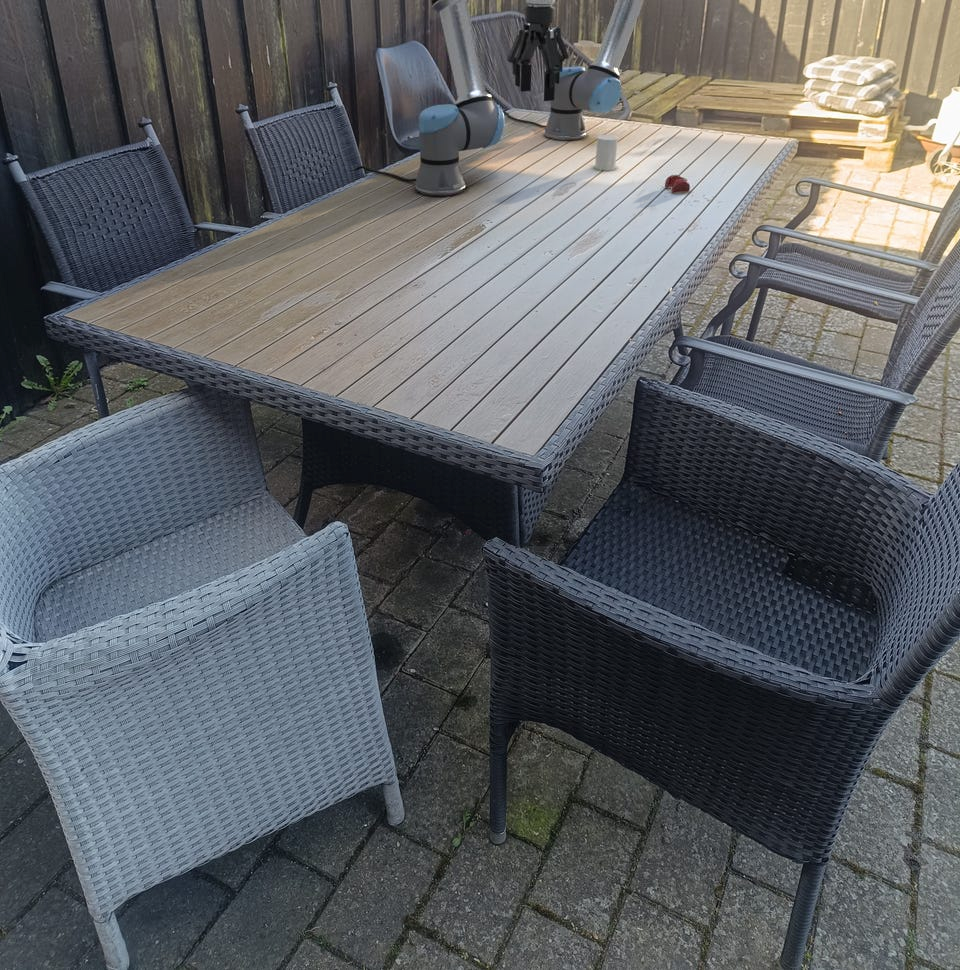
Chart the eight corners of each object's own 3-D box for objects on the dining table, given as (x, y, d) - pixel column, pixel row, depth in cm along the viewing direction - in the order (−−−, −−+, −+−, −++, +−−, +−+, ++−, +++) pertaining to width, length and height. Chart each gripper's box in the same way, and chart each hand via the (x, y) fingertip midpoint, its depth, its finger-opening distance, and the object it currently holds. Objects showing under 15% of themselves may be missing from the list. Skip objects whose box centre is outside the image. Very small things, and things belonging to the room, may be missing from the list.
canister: (591, 168, 278) (593, 137, 272) (602, 164, 282) (604, 133, 276) (608, 171, 274) (610, 140, 269) (619, 167, 279) (621, 137, 273)
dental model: (681, 171, 259) (692, 178, 253) (679, 184, 262) (690, 192, 256) (664, 173, 258) (675, 180, 252) (662, 186, 261) (673, 194, 255)
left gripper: (577, 9, 205) (572, 103, 218) (531, -1, 224) (528, 86, 236) (550, 11, 203) (546, 106, 215) (505, 0, 221) (504, 88, 234)
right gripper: (504, 14, 258) (504, 89, 271) (580, 10, 263) (576, 84, 276) (497, 11, 264) (497, 84, 276) (572, 7, 269) (568, 79, 282)
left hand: (537, 95), depth 226 cm, fingers open, 13 cm apart
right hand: (537, 84), depth 276 cm, fingers open, 13 cm apart
